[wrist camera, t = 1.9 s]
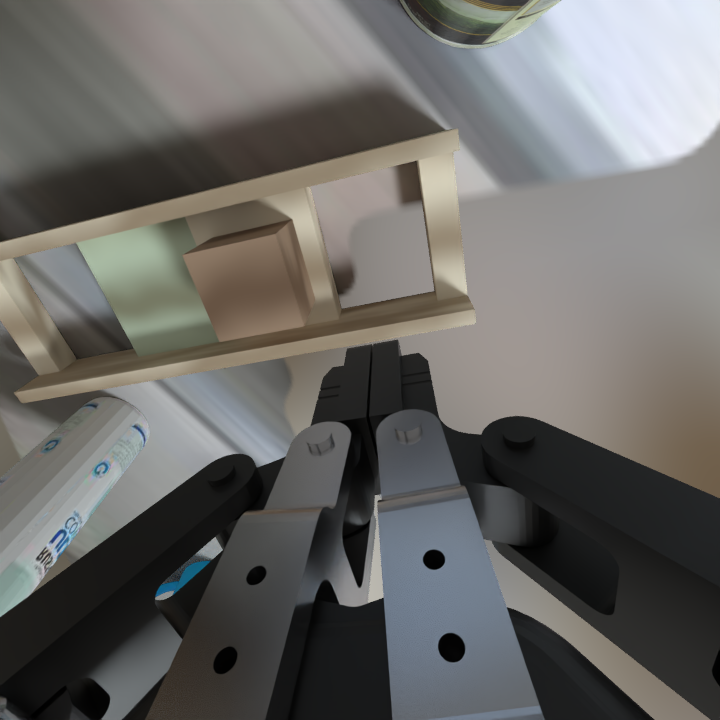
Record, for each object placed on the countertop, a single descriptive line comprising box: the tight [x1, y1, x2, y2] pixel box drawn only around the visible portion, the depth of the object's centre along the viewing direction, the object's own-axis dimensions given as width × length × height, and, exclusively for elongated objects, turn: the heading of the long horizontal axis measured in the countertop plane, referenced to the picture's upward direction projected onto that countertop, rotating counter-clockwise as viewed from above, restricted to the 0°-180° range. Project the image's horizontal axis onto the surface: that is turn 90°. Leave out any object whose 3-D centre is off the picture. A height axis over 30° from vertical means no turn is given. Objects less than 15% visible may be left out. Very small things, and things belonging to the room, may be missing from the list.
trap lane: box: [0, 129, 476, 403], centre depth 28 cm, size 11×34×4 cm, turn 103°
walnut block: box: [182, 219, 316, 342], centre depth 25 cm, size 6×6×4 cm
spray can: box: [0, 397, 150, 617], centre depth 28 cm, size 6×6×20 cm
